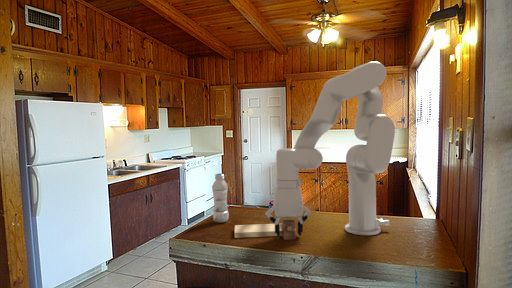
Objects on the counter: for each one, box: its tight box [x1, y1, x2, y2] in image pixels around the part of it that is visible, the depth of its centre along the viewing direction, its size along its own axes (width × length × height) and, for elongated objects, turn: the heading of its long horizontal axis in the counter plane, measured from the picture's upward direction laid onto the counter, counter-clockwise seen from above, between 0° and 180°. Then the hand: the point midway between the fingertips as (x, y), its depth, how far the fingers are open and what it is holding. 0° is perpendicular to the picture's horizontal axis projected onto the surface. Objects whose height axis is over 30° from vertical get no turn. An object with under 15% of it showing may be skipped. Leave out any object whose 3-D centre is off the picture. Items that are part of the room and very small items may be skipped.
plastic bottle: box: [211, 173, 230, 223], centre depth 136 cm, size 6×7×20 cm
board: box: [234, 223, 297, 239], centre depth 121 cm, size 22×9×2 cm, turn 93°
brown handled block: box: [281, 218, 296, 241], centre depth 119 cm, size 4×13×6 cm, turn 3°
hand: (288, 234), depth 115 cm, fingers open, 6 cm apart
